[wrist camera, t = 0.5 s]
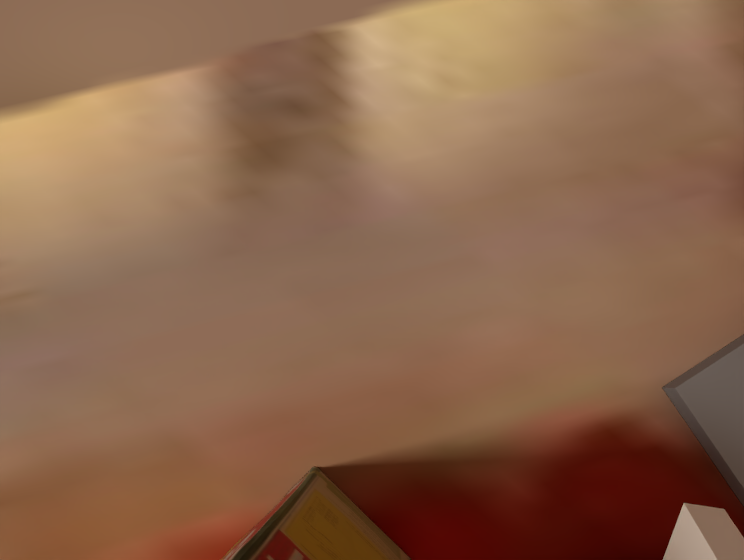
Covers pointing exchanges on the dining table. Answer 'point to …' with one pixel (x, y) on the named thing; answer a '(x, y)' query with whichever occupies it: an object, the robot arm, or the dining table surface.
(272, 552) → the food packaging
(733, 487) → the plate
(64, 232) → the dining table surface
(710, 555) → the robot arm
